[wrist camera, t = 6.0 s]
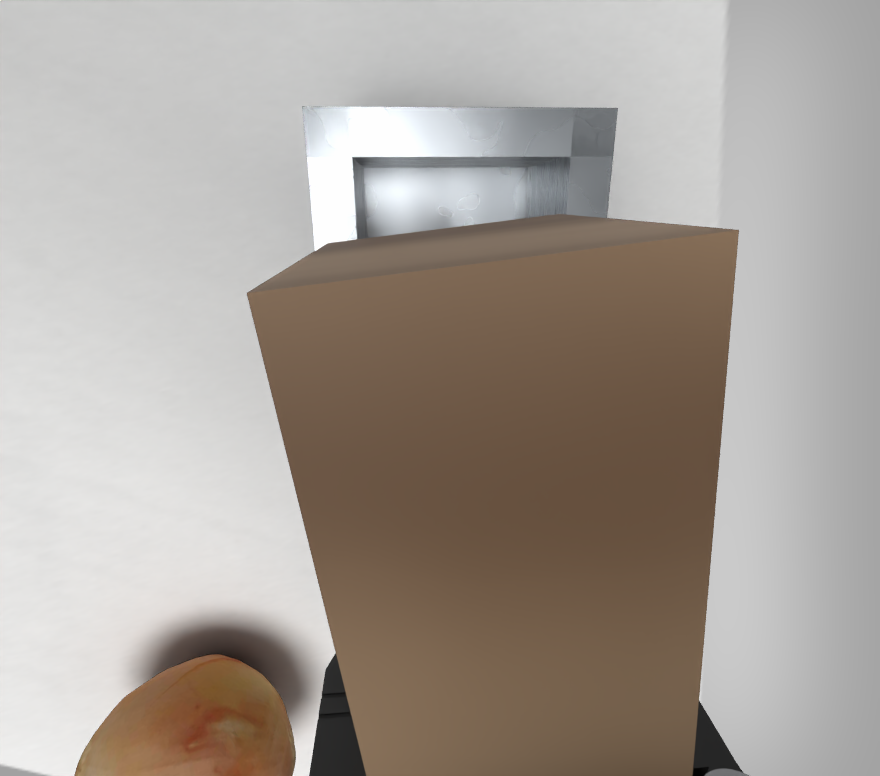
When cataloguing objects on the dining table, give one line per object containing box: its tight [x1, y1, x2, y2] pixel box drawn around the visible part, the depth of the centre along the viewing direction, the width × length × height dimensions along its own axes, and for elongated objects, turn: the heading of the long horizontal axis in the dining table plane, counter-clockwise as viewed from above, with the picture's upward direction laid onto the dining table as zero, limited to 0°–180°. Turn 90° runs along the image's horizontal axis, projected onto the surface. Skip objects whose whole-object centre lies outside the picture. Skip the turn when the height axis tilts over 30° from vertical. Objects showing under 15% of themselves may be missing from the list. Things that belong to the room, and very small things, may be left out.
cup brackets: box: [302, 106, 618, 251], centre depth 21 cm, size 23×8×8 cm, turn 0°
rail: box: [247, 214, 739, 776], centre depth 10 cm, size 18×4×5 cm, turn 7°
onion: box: [75, 654, 296, 776], centre depth 25 cm, size 10×10×10 cm
